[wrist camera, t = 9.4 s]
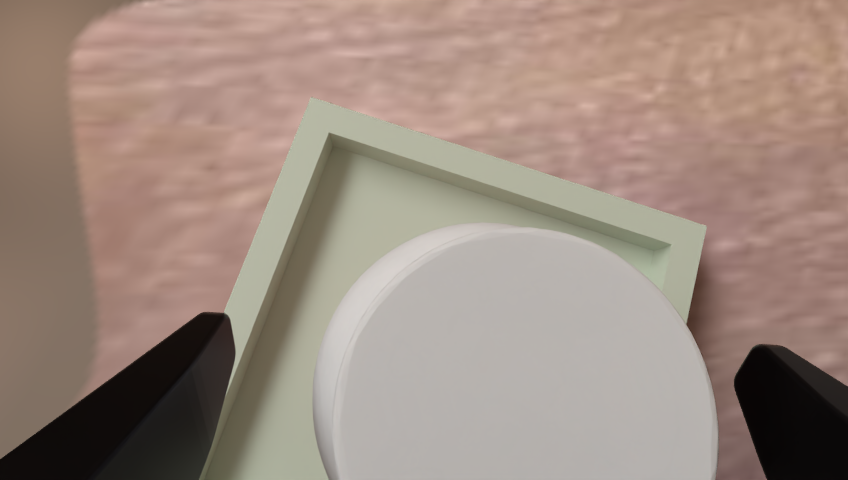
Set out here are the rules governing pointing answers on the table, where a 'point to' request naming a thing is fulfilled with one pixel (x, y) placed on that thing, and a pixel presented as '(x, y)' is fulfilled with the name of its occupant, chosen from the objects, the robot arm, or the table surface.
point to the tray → (372, 239)
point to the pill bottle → (510, 366)
